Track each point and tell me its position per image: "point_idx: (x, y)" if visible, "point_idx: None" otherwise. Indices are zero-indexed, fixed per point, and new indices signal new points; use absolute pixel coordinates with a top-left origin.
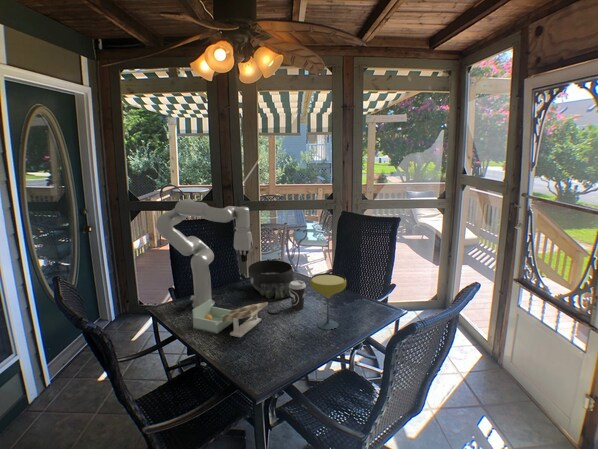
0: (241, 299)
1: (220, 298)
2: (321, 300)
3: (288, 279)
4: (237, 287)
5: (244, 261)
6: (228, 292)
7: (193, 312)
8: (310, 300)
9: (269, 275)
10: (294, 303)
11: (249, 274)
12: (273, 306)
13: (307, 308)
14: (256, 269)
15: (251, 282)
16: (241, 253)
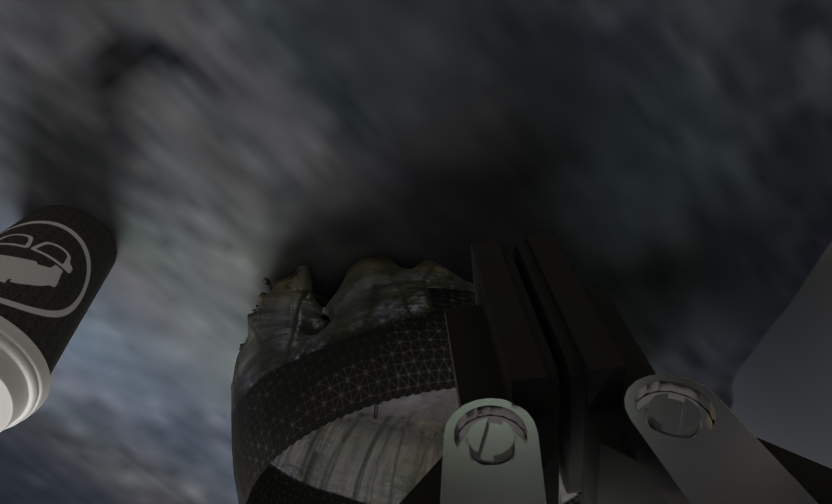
0: (549, 141)
1: (736, 60)
2: (57, 402)
3: (232, 453)
4: (705, 292)
5: (474, 268)
6: (728, 191)
7: None
8: (110, 372)
9: (345, 403)
10: (18, 229)
11: None
12: (233, 172)
13: None
14: None
15: None
16: (658, 432)
